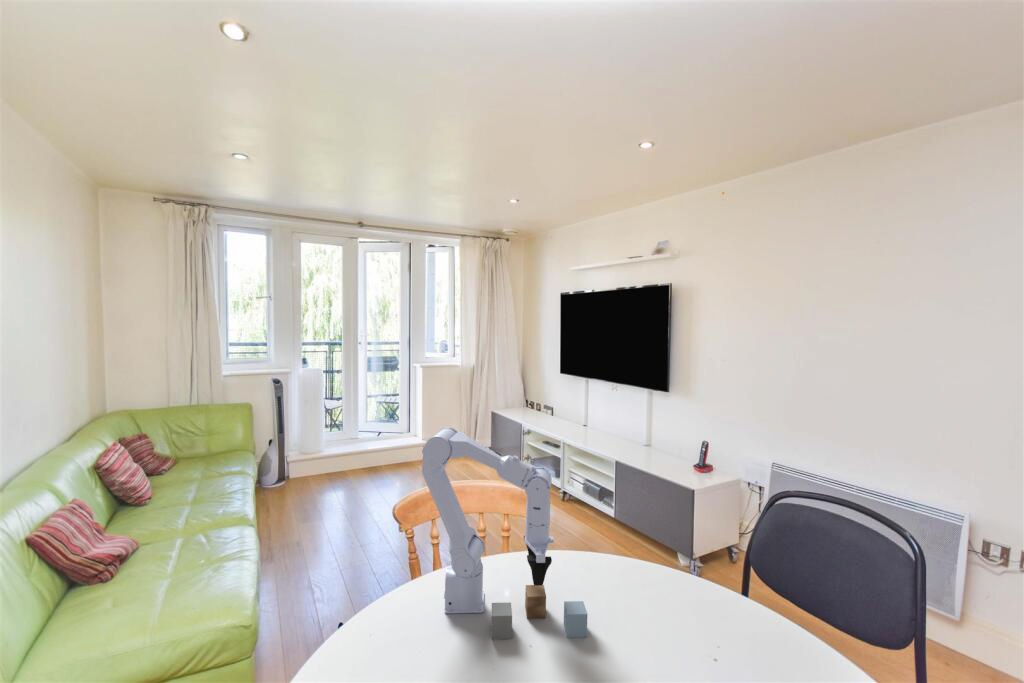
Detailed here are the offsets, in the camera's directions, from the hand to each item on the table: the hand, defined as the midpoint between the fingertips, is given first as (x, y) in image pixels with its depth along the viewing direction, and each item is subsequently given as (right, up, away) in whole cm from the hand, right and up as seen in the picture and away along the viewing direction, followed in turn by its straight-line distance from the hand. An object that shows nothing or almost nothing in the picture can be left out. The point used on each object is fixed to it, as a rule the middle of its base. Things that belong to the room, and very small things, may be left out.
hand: (536, 574), depth 109 cm
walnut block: (0, -9, +1) cm, 9 cm away
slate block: (+9, -10, -5) cm, 14 cm away
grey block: (-8, -10, -6) cm, 14 cm away
